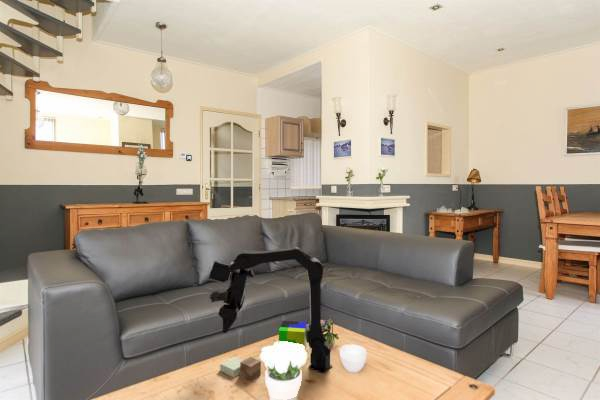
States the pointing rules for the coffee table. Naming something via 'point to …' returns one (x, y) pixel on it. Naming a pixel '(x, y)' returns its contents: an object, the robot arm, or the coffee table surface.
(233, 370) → the pale green block
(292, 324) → the puzzle toy
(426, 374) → the coffee table surface
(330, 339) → the passion flower
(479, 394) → the coffee table surface
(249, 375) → the walnut cube
